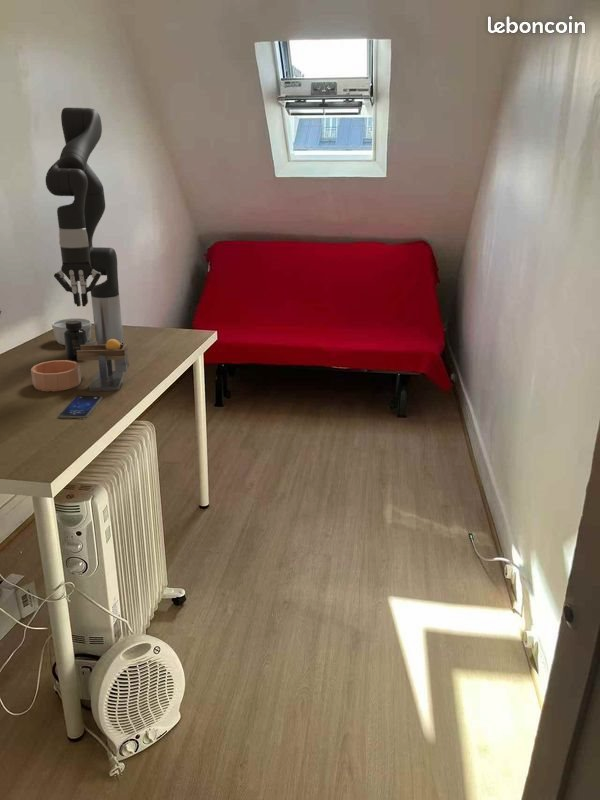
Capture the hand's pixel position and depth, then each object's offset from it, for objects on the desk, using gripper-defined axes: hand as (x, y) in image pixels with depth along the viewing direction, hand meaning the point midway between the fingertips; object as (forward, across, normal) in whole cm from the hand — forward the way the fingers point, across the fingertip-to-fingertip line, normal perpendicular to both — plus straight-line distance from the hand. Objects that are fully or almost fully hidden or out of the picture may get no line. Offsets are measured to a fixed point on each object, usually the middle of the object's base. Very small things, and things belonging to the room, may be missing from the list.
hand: (81, 305), depth 174 cm
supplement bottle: (+21, +6, -17) cm, 28 cm away
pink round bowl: (+21, +8, +8) cm, 24 cm away
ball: (+10, -9, +8) cm, 16 cm away
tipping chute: (+17, -6, +4) cm, 18 cm away
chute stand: (+21, -6, +8) cm, 23 cm away
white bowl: (+21, +12, -37) cm, 44 cm away
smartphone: (+22, -2, +27) cm, 35 cm away
